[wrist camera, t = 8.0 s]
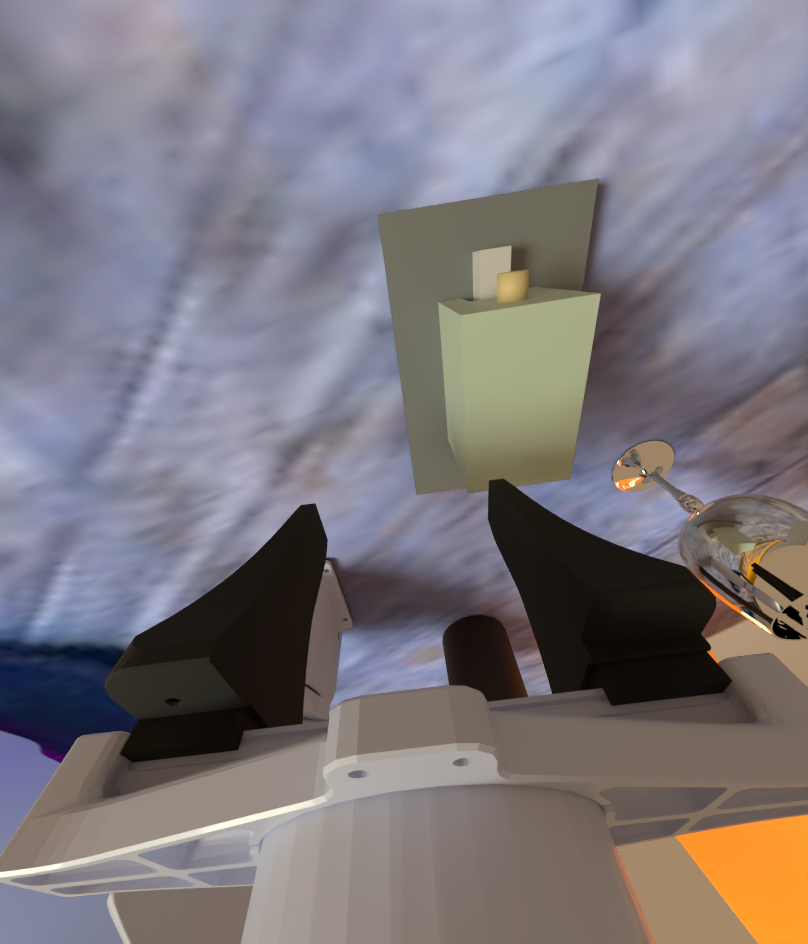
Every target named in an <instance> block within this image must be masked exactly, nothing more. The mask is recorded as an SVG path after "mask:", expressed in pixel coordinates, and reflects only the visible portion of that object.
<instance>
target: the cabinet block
mask: <svg viewBox="0 0 808 944" xmlns="http://www.w3.org/2000/svg"><path fill="white" fill-rule="evenodd" d="M528 283H529V269H526V270H517V271H510V272H504V273H499V274H497V297H495V298H489V299H482V300H476V301H467V300H464V299H455V300H449V301H443V302H438V307H439V321H440V334H441V348H442V362H443V375H444V389H445V403H446V416H447V430H448V440H449V443H450V446H451V448H452V451H453V454H454V456H455V459H456V462H457V464H458V467H459V470H460V472H461V475H462V478H463V480H464V483H465V486H466V488H467V491H468V493H474V492H481V491H488V490H489V480H495V479H503V478H504V479H505V480H507V481H508V482H509V483H511V484H512V485H513V486H515V487H516V486H523V485H530V484H537V483H545V482H552V481H559V480H566V479H570V478H571V472H572V466H573V460H574V454H575V448H576V442H577V436H578V430H579V424H580V417H581V411H582V405H583V399H584V393H585V387H586V381H587V375H588V369H589V363H590V357H591V351H592V345H593V338H594V332H595V326H596V320H597V314H598V308H599V302H600V296H601V293H594V292H584V291H573V290H563V289H553V288H543V287H530V288H528Z"/></svg>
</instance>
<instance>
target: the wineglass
mask: <svg viewBox="0 0 808 944" xmlns="http://www.w3.org/2000/svg"><path fill="white" fill-rule="evenodd" d="M673 462H674V451H673V449H672V447H671V446H670V445H669V444H667V443H666V442H663V441H657V440H652V441H646V442H643V443H640V444H638V445H636V446H634V447H632V448H630V449H629V450H628V451H626V452H625V453H624V454H623V455H622V456H621V457H620V458H619V459H618V461H617V462H616V464H615V465H614V468H613V470H612V481H613V484H614V485H615V486H616V487H617V488H618V489H620V490H622V491H626V492H636V491H641V490H644V489H647V488H649V487H651V486H653V485H655V484H656V483H658V484H659V485H660V486H662V487H663V488H664V489H666V490H667V491H668V492H669V493H671V495H672V496H673V497H674V498H675V499H676V500H677V502H678V503H679V505H680V506H681V507H682V509H683V510H685V511H686V512H688V513H690V514H692V515H690V517H689V518H688V519H687V520H686V521H685V523H684V524H683V526H682V528H681V530H680V533H679V536H678V549H679V553H680V556H681V558H682V560H683V562H684V564H685V565H686V567H687V568H688V569H689V570H690V571H691V572H692V573H693V574H694V575H695V576H696V577H697V578H698V579H699V580H700V581H701V582H702V583H703V584H704V585H705V586H706V587H707V588H709V589H710V590H711V591H712V593H713V594H714V595H715V596H716V597H717V598H719V599H720V600H721V601H722V602H724V603H725V604H726V605H728V606H729V607H730V608H732V609H733V610H735V611H736V612H737V613H739V614H740V615H742V616H743V617H745V618H746V619H748V620H749V621H751V622H752V623H754V624H755V625H757V626H759V627H760V628H761V629H763V630H765V631H766V632H768V633H769V634H771V635H772V636H774V637H776V638H778V639H781V640H789V641H796V640H806V639H808V511H807V510H805V509H803V508H801V507H798V506H796V505H794V504H791V503H789V502H787V501H784V500H781V499H778V498H775V497H771V496H766V495H757V494H738V495H731V496H727V497H723V498H719V499H717V500H714V501H712V502H710V503H707V504H706V505H704V504H703V502H702V501H701V500H700V499H699V498H697V497H695V496H693V495H689V494H687V493H685V492H683V491H681V490H679V489H677V488H675V487H674V486H673V485H671V484H670V483H668V482H667V481H666V480H664V479H663V478H664V477H665V476H666V474H667V473H668V472H669V471H670V469H671V467H672V465H673Z"/></svg>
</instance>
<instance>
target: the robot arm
mask: <svg viewBox="0 0 808 944" xmlns="http://www.w3.org/2000/svg"><path fill="white" fill-rule="evenodd" d="M488 520H489V524H490V527H491V530H492V533H493V536H494V539H495V541H496V544H497V546H498V548H499V550H500V552H501V554H502V556H503V559H504V561H505V563H506V565H507V567H508V569H509V571H510V573H511V575H512V577H513V580H514V582H515V584H516V586H517V588H518V591H519V593H520V595H521V598H522V601H523V604H524V607H525V609H526V612H527V615H528V618H529V621H530V624H531V627H532V630H533V633H534V636H535V639H536V642H537V645H538V648H539V651H540V654H541V657H542V661H543V664H544V667H545V670H546V673H547V677H548V680H549V684H550V687H551V690H552V694H549V695H540V696H532V697H524V698H515V699H507V700H499V701H490V702H487V700H486V698H485V697H484V695H483V693H481V692H480V691H478V690H476V689H473V688H470V687H468V686H456V685H446V686H438V687H430V688H421V689H413V690H405V691H397V692H388V693H380V694H372V695H363V696H358V697H354V698H351V699H347V700H344V701H343V702H341V703H340V704H339V705H337V706H336V707H335V708H334V709H333V710H331V711H330V717H329V709H330V704H331V701H332V699H333V697H334V693H335V689H336V681H337V673H338V665H339V656H340V648H341V640H342V631H343V629H349V628H351V627H352V626H353V621H352V618H351V616H350V613H349V610H348V607H347V605H346V602H345V599H344V596H343V594H342V591H341V588H340V585H339V583H338V580H337V577H336V575H335V572H334V569H333V566H332V564H331V562H330V561H328V560H326V553H327V541H328V540H327V537H326V534H325V531H324V528H323V525H322V522H321V519H320V516H319V513H318V510H317V507H316V504H315V503H314V504H307V505H301V506H300V507H299V508H298V509H297V510H296V511H295V512H294V513H293V514H292V515H291V517H290V518H289V519H288V520H287V521H286V522H285V523H284V524H283V526H282V527H281V528H280V529H279V530H278V531H277V532H276V533H275V534H274V535H273V536H272V538H271V539H270V540H269V541H268V542H267V543H266V544H265V545H264V546H263V547H262V548H261V549H260V550H259V551H258V552H257V553H256V554H255V555H254V556H253V557H251V558H250V559H249V560H248V561H247V562H246V563H245V564H244V565H243V566H241V567H240V568H239V569H238V570H237V571H235V572H234V573H233V574H232V575H231V576H229V577H228V578H227V579H225V580H224V581H223V582H221V583H220V584H219V585H217V586H216V587H215V588H213V589H212V590H211V591H209V592H208V593H207V594H205V595H204V596H202V597H201V598H199V599H198V600H196V601H195V602H193V603H192V604H190V605H189V606H187V607H186V608H184V609H182V610H181V611H179V612H178V613H176V614H174V615H173V616H171V617H169V618H168V619H166V620H164V621H162V622H160V623H159V624H157V625H155V626H153V627H152V628H150V629H148V630H146V631H144V632H143V633H141V634H139V635H137V636H135V638H134V639H133V641H132V642H131V644H130V645H129V646H128V648H127V649H126V651H125V652H124V654H123V655H122V657H121V658H120V660H119V661H118V662H117V664H116V665H115V667H114V668H113V670H112V671H111V673H110V674H109V675H108V677H107V678H106V681H105V688H106V691H107V694H108V695H109V696H110V697H111V698H112V700H113V701H115V702H116V703H117V704H118V705H120V706H121V707H122V708H123V709H125V710H126V711H127V712H128V713H130V714H131V715H132V716H133V717H135V718H136V719H137V720H138V722H137V724H136V725H135V727H134V729H133V731H132V733H128V732H123V731H115V732H107V733H98V734H90V735H83V736H81V737H79V738H77V740H76V741H75V743H74V745H73V746H72V748H71V749H70V751H69V752H68V754H67V755H66V757H65V758H64V760H63V761H62V763H61V764H60V766H59V767H58V769H57V770H56V772H55V773H54V775H53V776H52V778H51V779H50V781H49V782H48V784H47V785H46V787H45V788H44V790H43V792H42V793H41V794H40V796H39V797H38V799H37V800H36V802H35V803H34V805H33V806H32V808H31V809H30V811H29V812H28V814H27V816H26V817H25V819H24V820H23V821H22V823H21V825H20V826H19V828H18V829H17V831H16V832H15V834H14V835H13V837H12V838H11V840H10V841H9V843H8V844H7V846H6V847H5V849H4V850H3V852H2V853H1V855H0V883H5V884H9V885H14V886H18V887H22V888H27V889H31V890H36V891H40V892H45V893H49V894H54V895H58V896H62V897H73V896H83V895H93V894H103V893H110V894H109V897H108V899H107V906H108V909H109V912H110V915H111V917H112V920H113V921H114V924H115V926H116V928H117V930H118V932H119V934H120V936H121V939H122V941H123V942H124V944H655V941H654V939H653V936H652V934H651V932H650V929H649V927H648V924H647V922H646V919H645V917H644V914H643V912H642V909H641V907H640V905H639V902H638V900H637V897H636V895H635V892H634V890H633V887H632V885H631V883H630V880H629V877H628V875H627V873H626V870H625V868H624V865H623V863H622V860H621V858H620V855H619V853H618V851H617V848H616V847H619V846H624V845H630V844H635V843H640V842H646V841H652V840H657V839H662V838H668V837H673V836H679V835H685V834H690V833H696V832H701V831H707V830H712V829H718V828H724V827H730V826H736V825H742V824H748V823H754V822H761V821H768V820H774V819H781V818H789V817H797V816H805V815H808V687H807V686H805V684H804V683H803V682H802V681H801V680H799V679H798V678H797V677H796V676H795V675H794V674H793V673H792V672H791V671H790V670H789V669H788V668H787V667H786V666H785V665H784V664H783V663H782V662H781V661H780V660H779V659H778V658H777V657H776V656H775V655H774V654H771V653H763V654H754V655H746V656H738V657H731V658H727V659H724V660H722V661H720V662H719V663H717V662H716V661H715V660H714V659H713V658H712V657H711V655H710V654H709V653H708V652H707V651H710V649H711V646H710V644H709V643H708V642H707V641H706V640H705V638H704V637H703V636H702V635H701V633H702V631H703V629H704V628H705V626H706V625H707V623H708V621H709V620H710V618H711V617H712V615H713V613H714V610H715V608H716V597H715V596H714V594H713V593H712V591H711V590H710V589H709V588H707V587H706V586H705V585H704V584H703V583H702V582H701V581H700V580H699V579H698V578H697V577H696V576H695V575H694V574H693V573H692V572H691V571H690V570H689V569H687V568H686V567H685V566H681V565H678V564H674V563H671V562H667V561H664V560H660V559H657V558H653V557H650V556H647V555H644V554H641V553H638V552H635V551H632V550H629V549H627V548H624V547H621V546H619V545H616V544H613V543H611V542H609V541H606V540H604V539H602V538H599V537H597V536H595V535H592V534H590V533H588V532H586V531H584V530H582V529H580V528H578V527H576V526H574V525H572V524H570V523H569V522H567V521H565V520H563V519H561V518H560V517H558V516H557V515H555V514H553V513H552V512H550V511H548V510H547V509H545V508H544V507H542V506H541V505H539V504H538V503H536V502H535V501H534V500H532V499H531V498H529V497H528V496H527V495H525V494H524V493H523V492H521V491H520V490H518V489H517V488H516V487H515V486H513V485H512V484H511V483H509V482H508V481H507V480H505V479H504V478H503V479H495V480H489V497H488ZM326 569H328V570H326Z"/></svg>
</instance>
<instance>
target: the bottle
mask: <svg viewBox="0 0 808 944" xmlns="http://www.w3.org/2000/svg"><path fill="white" fill-rule="evenodd" d="M443 648H444V654H445V661H446V667H447V674H448V680H449V685H456V686H468V687H470V688H473V689H476V690H478V691H480V692H481V693H483V695H484V697H485V698H486V700H487V702H490V701H499V700H507V699H515V698H524V697H528V695H527V692H526V689H525V686H524V683H523V680H522V677H521V674H520V671H519V668H518V665H517V662H516V659H515V656H514V653H513V650H512V647H511V644H510V641H509V638H508V635H507V632H506V629H505V628H504V626H503V625H502V624H501V623H500V622H499V621H497V620H495V619H493V618H490V617H484V616H473V617H468V618H464V619H461V620H459V621H457V622H455V623H453V624H452V625H451V626H449V627H448V628H447V630H446V631H445V633H444V635H443Z"/></svg>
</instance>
